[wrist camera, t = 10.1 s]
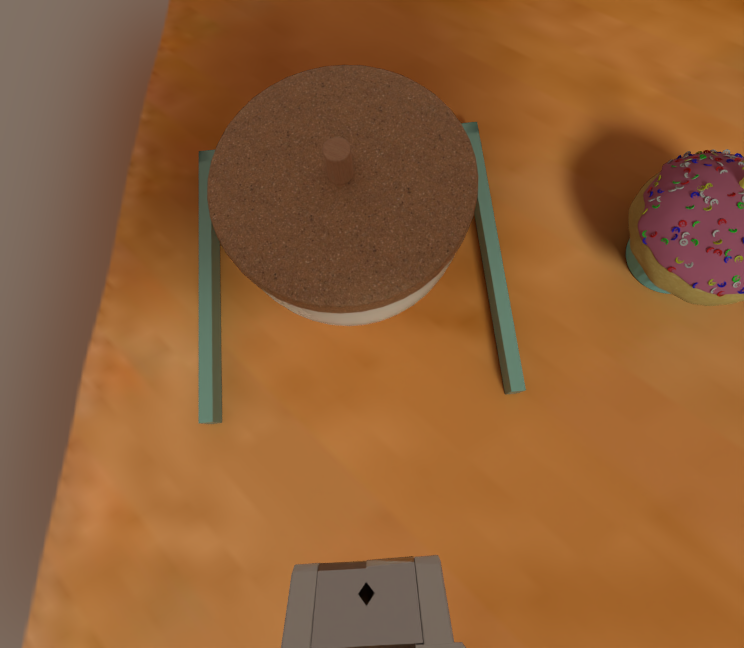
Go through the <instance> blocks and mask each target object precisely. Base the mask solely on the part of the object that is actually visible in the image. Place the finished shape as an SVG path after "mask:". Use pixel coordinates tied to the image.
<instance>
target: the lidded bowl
mask: <svg viewBox="0 0 744 648" xmlns="http://www.w3.org/2000/svg"><path fill="white" fill-rule="evenodd" d="M477 197H478V170H477V163H476V157H475V154H474V151H473V148H472V145H471V142H470V139H469V137H468V135H467V134H466V132H465V130H464V128H463V126H462V124H461V123H460V121H459V120H458V119H457V117H456V116H455V115H454V114H453V112H452V111H451V110H450V108H449V107H448V106H446V105H445V104H444V103H443V102H442V101H441V100H440V99H439V98H438V97H437V96H436V95H435V94H434V93H432V92H431V91H429V90H428V89H426V88H425V87H423V86H421V85H420V84H418V83H416V82H414V81H412V80H411V79H409V78H407V77H405V76H403V75H400V74H397V73H393V72H390V71H387V70H384V69H379V68H374V67H369V66H360V65H338V66H325V67H320V68H316V69H312V70H307V71H304V72H301V73H298V74H295V75H292V76H289V77H287V78H285V79H283V80H281V81H279V82H277V83H275V84H274V85H272V86H270V87H268V88H267V89H265V90H264V91H263V92H261V93H260V94H258V95H257V96H255V97H254V98H253V99H252V100H251V101H250V102H249V103H248V104H247V105H246V106H244V107H243V108H242V109H241V110H240V111H239V113H238V114H237V115H236V116H235V118H234V119H233V120H232V121H231V122H230V124H229V125H228V126H227V128H226V130H225V132H224V134H223V135H222V137H221V139H220V141H219V142H218V145H217V147H216V150H215V153H214V155H213V158H212V160H211V165H210V170H209V175H208V185H207V200H208V207H209V214H210V218H211V221H212V224H213V227H214V230H215V233H216V236H217V237H218V239H219V241H220V243H221V245H222V246H223V248H224V250H225V252H226V253H227V255H228V256H229V257H230V258H231V259H232V261H233V262H234V263H235V264H236V266H237V267H238V268H239V269H240V271H241V272H242V273H243V274H244V275H245V276H247V277H248V278H249V279H250V280H251V281H252V282H253V283H255V284H256V285H257V286H258V287H259V288H261V289H262V290H263V291H264V292H265V293H266V294H268V295H269V296H270V297H271V298H272V299H273V300H275V301H276V302H278V303H279V304H281V305H283V306H284V307H286V308H287V309H289V310H291V311H292V312H294V313H296V314H298V315H300V316H303V317H305V318H308V319H310V320H313V321H317V322H321V323H325V324H330V325H340V326H358V325H367V324H371V323H376V322H380V321H383V320H385V319H388V318H390V317H393V316H395V315H397V314H399V313H401V312H402V311H404V310H406V309H408V308H409V307H411V306H413V305H414V304H415V303H417V302H418V301H419V300H420V299H421V298H423V297H424V296H425V295H426V294H427V293H428V292H429V291H430V290H431V289H432V288H433V286H434V285H435V284H436V283H437V282H438V281H439V279H440V278H441V277H442V276H443V274H444V273H445V271H446V269H447V268H448V266H449V265H450V263H451V261H452V260H453V258H454V255H455V253H456V252H457V250H458V248H459V247H460V245H461V244H462V242H463V240H464V238H465V235H466V233H467V231H468V228H469V226H470V223H471V221H472V218H473V215H474V211H475V206H476V201H477Z"/></svg>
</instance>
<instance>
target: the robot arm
mask: <svg viewBox="0 0 744 648" xmlns="http://www.w3.org/2000/svg"><path fill="white" fill-rule="evenodd" d="M281 648H466V647H465V646H464V644H463V643H462V642H454V639H453V633H452V627H451V621H450V615H449V609H448V603H447V597H446V591H445V585H444V579H443V573H442V567H441V561H440V559H439V556H438V555H431V556H419V557H413V556H409V557H398V558H386V559H374V560H367V561H353V562H335V563H312V564H298V565H295V566H294V569H293V572H292V576H291V583H290V590H289V597H288V604H287V611H286V618H285V625H284V631H283V638H282V645H281Z"/></svg>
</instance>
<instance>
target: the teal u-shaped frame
mask: <svg viewBox="0 0 744 648" xmlns="http://www.w3.org/2000/svg"><path fill="white" fill-rule="evenodd" d="M461 124H462V126H463V128H464V130H465V132H466V134H467V135H468V137H469V139H470V142H471V145H472V148H473V151H474V154H475V157H476V163H477V170H478V197H477V201H476V206H475V211H474V215H475V221H476V227H477V233H478V238H479V244H480V250H481V256H482V262H483V268H484V274H485V280H486V286H487V291H488V297H489V303H490V309H491V315H492V321H493V327H494V333H495V339H496V344H497V350H498V356H499V362H500V368H501V374H502V380H503V386H504V392H505V394H514V393H520V392H523V391H525V390H526V389H525V383H524V378H523V372H522V367H521V361H520V356H519V350H518V345H517V339H516V334H515V328H514V323H513V317H512V312H511V306H510V301H509V295H508V290H507V284H506V279H505V273H504V268H503V262H502V257H501V251H500V246H499V240H498V235H497V229H496V224H495V218H494V213H493V207H492V202H491V196H490V191H489V185H488V180H487V174H486V169H485V163H484V158H483V152H482V147H481V141H480V136H479V130H478V125H477V122H470V123H461ZM214 153H215V150H207V151H199V423H201V424H216V423H222V378H221V298H220V241H219V239H218V237H217V236H216V233H215V230H214V227H213V224H212V221H211V218H210V214H209V207H208V200H207V185H208V175H209V170H210V165H211V160H212V158H213V155H214Z"/></svg>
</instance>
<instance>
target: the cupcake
mask: <svg viewBox="0 0 744 648" xmlns="http://www.w3.org/2000/svg"><path fill="white" fill-rule="evenodd" d="M712 151H714V152H715V153H714V152H712ZM725 151H726V154H725V153H724V152H725ZM727 151H728V154H727ZM705 152H706V153H705ZM708 152H709V153H708ZM711 152H712V153H711ZM687 153H688V155H686V154H687ZM685 155H686V156H685ZM738 155H739V156H738ZM679 157H680V158H679ZM628 226H629V233H630V239H629V241H628V243H627V247H626V260H627V264H628V267H629V269H630V271H631V273H632V274H633V275H634V277H635V278H636V279H637V280H638V281H639V282H640V283H641V284H643V285H644V286H646V287H648V288H649V289H652V290H654V291H657V292H661V293H668V294H673V295H675V296H677V297H678V298H680V299H682V300H684V301H686V302H688V303H691V304H697V305H705V306H716V305H726V304H733V303H737V302H741V301H744V157H743V156H742V155H741V154H739V153H737V154H735V155H732V154H730V150H728V149H727V150H724V151H723V152H717V151H716V150H710V151H709V150H705V151H704V152H703V153H702V151H699V152H697V153H695V154H691V152H690V151H688V152H686V153H685V154H684V156H683V157H681V155H680V156H678V158H677V159H674V160H670V161H669V162H667V163H665V164H664V165H663V166H662V171H661V172H659V173H658V174H657V175H655V176H654V177H653V178H651V179H650V180H649V181H648V182H647V183H646V184H645V185H644V186H643V187H642V188H641V190H640V191H639V193H638V194H637V196H636V197H635V199H634V200H633V202H632V204H631V206H630V208H629V213H628Z"/></svg>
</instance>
